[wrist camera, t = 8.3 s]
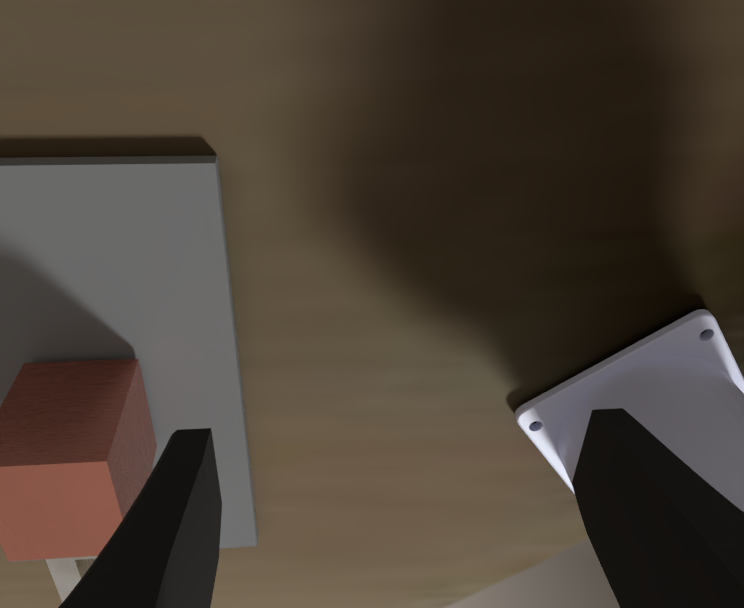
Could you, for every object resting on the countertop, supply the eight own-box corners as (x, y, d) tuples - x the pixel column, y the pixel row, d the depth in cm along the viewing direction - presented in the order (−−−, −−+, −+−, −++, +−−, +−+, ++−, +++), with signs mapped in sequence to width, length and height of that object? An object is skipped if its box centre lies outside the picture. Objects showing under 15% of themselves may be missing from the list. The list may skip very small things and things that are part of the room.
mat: (257, 534, 29) (257, 545, 28) (14, 549, 28) (9, 562, 27) (217, 155, 19) (215, 163, 19) (-153, 159, 18) (-166, 167, 18)
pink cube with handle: (201, 572, 28) (186, 680, 25) (78, 580, 28) (45, 692, 24) (160, 357, 22) (133, 460, 18) (1, 364, 21) (-61, 469, 18)
